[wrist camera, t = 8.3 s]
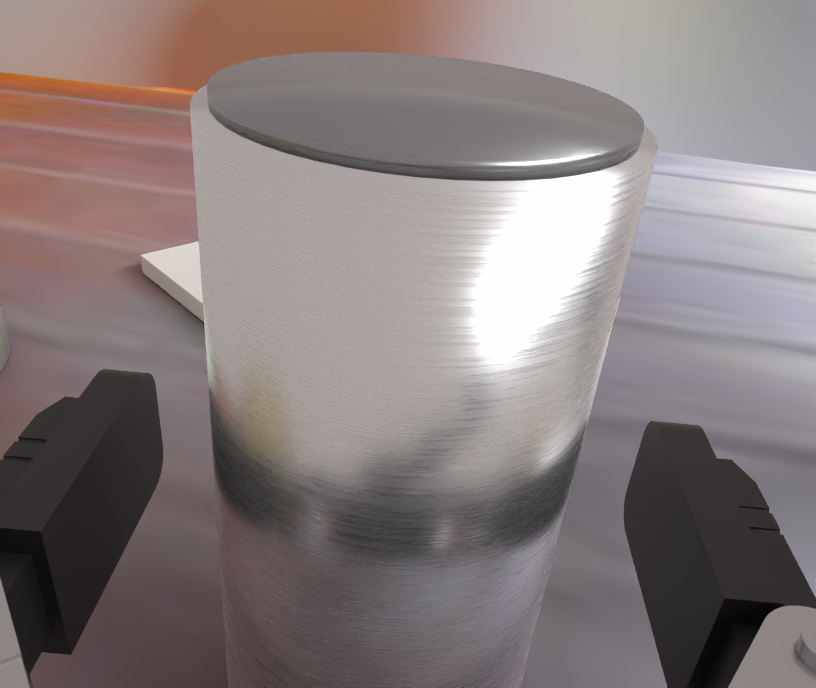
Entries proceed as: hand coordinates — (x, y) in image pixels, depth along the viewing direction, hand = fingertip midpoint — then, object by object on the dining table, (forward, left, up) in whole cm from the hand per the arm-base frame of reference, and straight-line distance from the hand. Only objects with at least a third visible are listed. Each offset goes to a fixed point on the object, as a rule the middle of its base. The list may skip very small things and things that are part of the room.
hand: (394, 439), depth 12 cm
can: (0, 0, -7) cm, 7 cm away
